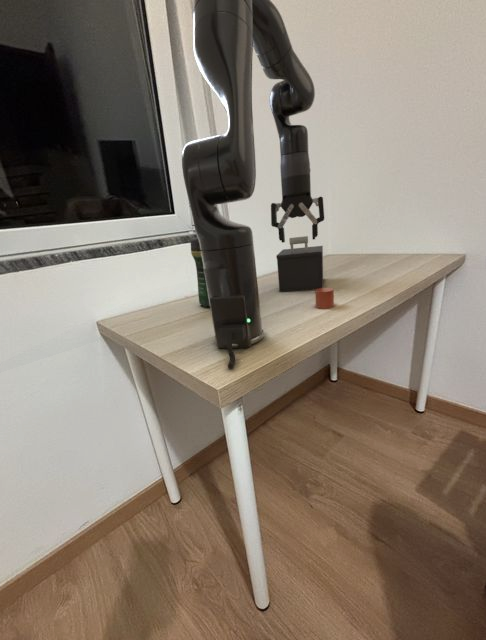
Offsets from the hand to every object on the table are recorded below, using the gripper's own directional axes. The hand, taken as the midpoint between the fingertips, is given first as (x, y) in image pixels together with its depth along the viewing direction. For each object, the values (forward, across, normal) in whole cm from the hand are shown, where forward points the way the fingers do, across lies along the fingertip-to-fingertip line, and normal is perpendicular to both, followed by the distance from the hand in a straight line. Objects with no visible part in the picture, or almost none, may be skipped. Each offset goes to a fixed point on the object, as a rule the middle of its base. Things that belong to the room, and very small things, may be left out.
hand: (298, 240), depth 86 cm
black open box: (+14, 0, +5) cm, 15 cm away
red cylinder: (+14, +7, -19) cm, 24 cm away
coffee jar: (+14, -23, -11) cm, 29 cm away
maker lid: (+4, 0, +5) cm, 6 cm away
